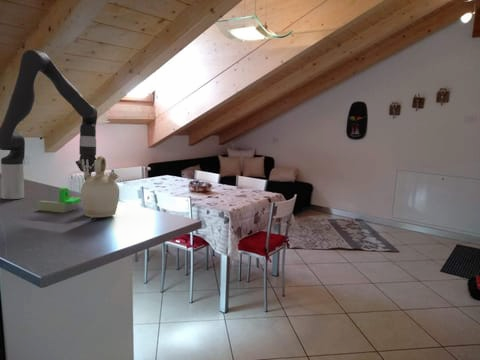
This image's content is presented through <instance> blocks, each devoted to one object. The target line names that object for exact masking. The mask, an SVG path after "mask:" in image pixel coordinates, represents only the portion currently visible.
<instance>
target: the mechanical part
mask: <svg viewBox="0 0 480 360" xmlns="http://www.w3.org/2000/svg"><path fill="white" fill-rule="evenodd" d="M58 194H59V195H58V196H59V202H60V203H66V205H71V204H78V203H80V202H82V201H81V197H77V196H72V197H71V196H70V190H69V189H68V187H61V188H60V189H59V193H58Z"/></svg>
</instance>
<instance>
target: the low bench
mask: <svg viewBox="0 0 480 360" xmlns="http://www.w3.org/2000/svg"><path fill="white" fill-rule="evenodd" d="M78 205H79V204H78V203H76V204H71V205H66V203H60V202H58V201H49V200H39V201H38V208H39V209H38V210H39V211H44V212H53V213H62V214H64V213H68V212H71V211H74V210H79V209H78V207H79V206H78Z"/></svg>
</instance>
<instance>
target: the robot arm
mask: <svg viewBox="0 0 480 360" xmlns="http://www.w3.org/2000/svg"><path fill="white" fill-rule="evenodd" d="M18 69H19V70H18V75H17V78H16V81H15V85H14V88H13V91H12V94H11V97H10V100H9V103H8V107H7V109H6V113H5V115H4V119H3V120H2V123H1V125H0V151H1V150H2V151H9V153H8V154H7V155H6V156H3V157H1V158H0V167H1V168H0V169H1V170H0V171H1V178H0V198H1V199H3V200H17V199H18V200H19V199H24V198H25V180H24V179H25V178H24V160H25V153H26V151H25V150H26V143H25V142H26V141H25V137H24V135H23V133H21V132H19V131H15V130H16V128H17V126H18V125H20V123H21V122H22V121H23V120H24V119H26V118H27V116H28V115H30V114H31V111H32V109H33V106H34V103H35V98H36V94H35V81H36V78H37V75H38V73H39V72H41V74H43V75H45V76H46V77H47V78H48V79H49V80H50V81H51V83H52V84H53V85H54V88H55V89H56V90H57V92H58V93H59V94H60V96H61V97H62V98H63V99H65V101H66V102H67V103H68V104H69V105H71V107H72V108H73V109H74V111H75V112H77V114H79V116H80V117H81V118H82V122H81V124H80V127H79V153H78V154H79V155H80V157H79V159H78V160H76V161H75V164H76V165H77V168H78V169H79V171H80V172H83V177H85V175H84V173H85V172H87V173H89V174H91V175H92V173H96V172H95V161H96V159H97V157H96V155H97V139H96V137H97V135H96V134H97V131H96V130H97V129H96V127H97V123H98V122H97V121H98V109H97V108H96V106H94V105H92V104H90V103H89V102H88V101H87V100H86V99H85V98H84V97H83V94H81V93H80V92H79V90H77V88H76V87H74V86H73V84H72V83H70V82H69V80H68V79H67V78H66V77H65V76H64V75H63V74H62V72H60V70H59V69H58V68H57V66H56V65H55V64H54V62H53V61H52V60H51V57H49V56H48V54H46V52H44V51H42V50H37V49H36V50H35V49H28V50H25V51H24V52H23V54H22V56H21V59H20V65H19V68H18ZM85 181H86V179H85V178H84V182H85Z"/></svg>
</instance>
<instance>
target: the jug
mask: <svg viewBox="0 0 480 360" xmlns="http://www.w3.org/2000/svg"><path fill="white" fill-rule="evenodd" d="M106 167H107V161H106V158H105V157H104V156H103V155H99V156H97V157H96V161H95V172H94V173H95V175H93V176H92V173H91V174H89V173H87V172H85V173H84V172H83V177H84V175H85V177H84V178H85V179H86V181H85V179H84V182H83V184H82V186H81V188H80V198H81V201H80V202H81V204H82V210H83V212H84V213H83V214H84V216H85V217H87V218H88V217H89V218H107V217H112V216H115V215H116V213H117V209H118V205H119V200H120V199H119V198H120V188H119V185H118V183H117V181H116V179H119V175H118V174H117V173H115V172H114V171H110V174H109V176H107V175H106V174H105V172H106V170H107V169H106Z"/></svg>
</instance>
